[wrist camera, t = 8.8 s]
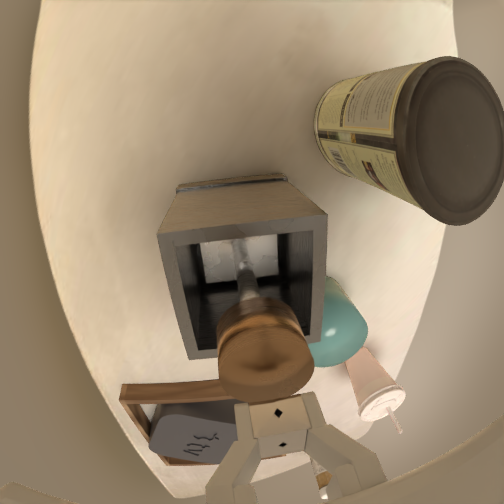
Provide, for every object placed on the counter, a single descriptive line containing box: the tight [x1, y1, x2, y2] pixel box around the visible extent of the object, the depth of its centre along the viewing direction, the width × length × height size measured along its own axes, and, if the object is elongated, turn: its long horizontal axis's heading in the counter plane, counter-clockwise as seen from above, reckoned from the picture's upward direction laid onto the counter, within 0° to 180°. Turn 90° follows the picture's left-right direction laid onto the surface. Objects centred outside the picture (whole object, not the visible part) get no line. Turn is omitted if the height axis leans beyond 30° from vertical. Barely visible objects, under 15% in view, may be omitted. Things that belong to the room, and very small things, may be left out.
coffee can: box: [314, 56, 504, 226], centre depth 18 cm, size 10×10×14 cm
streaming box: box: [149, 399, 250, 464], centre depth 38 cm, size 14×14×5 cm
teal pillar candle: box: [308, 276, 368, 367], centre depth 29 cm, size 7×7×7 cm
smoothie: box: [345, 347, 406, 434], centre depth 31 cm, size 6×6×14 cm
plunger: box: [200, 234, 314, 403], centre depth 18 cm, size 6×6×14 cm
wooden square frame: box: [119, 379, 286, 466], centre depth 39 cm, size 23×23×3 cm
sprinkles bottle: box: [310, 457, 332, 499], centre depth 41 cm, size 5×5×13 cm
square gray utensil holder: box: [157, 174, 328, 360], centre depth 22 cm, size 9×9×12 cm
